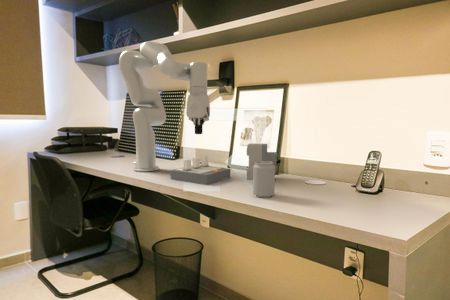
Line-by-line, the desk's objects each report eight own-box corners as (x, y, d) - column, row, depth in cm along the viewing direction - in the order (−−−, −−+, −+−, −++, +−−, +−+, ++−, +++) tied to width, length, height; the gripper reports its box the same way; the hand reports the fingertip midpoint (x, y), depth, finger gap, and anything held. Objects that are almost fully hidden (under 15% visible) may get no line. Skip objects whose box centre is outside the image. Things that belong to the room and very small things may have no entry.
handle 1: (182, 169, 140) (182, 159, 139) (187, 168, 142) (187, 158, 142) (187, 170, 138) (187, 160, 138) (192, 169, 141) (192, 159, 140)
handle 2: (200, 165, 150) (200, 156, 149) (204, 165, 152) (204, 155, 152) (205, 166, 148) (205, 156, 148) (209, 165, 151) (209, 156, 150)
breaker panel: (170, 179, 143) (170, 169, 143) (196, 173, 157) (195, 163, 156) (206, 184, 132) (206, 173, 131) (230, 177, 146) (230, 167, 145)
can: (257, 199, 110) (258, 164, 109) (249, 193, 117) (250, 160, 116) (278, 197, 112) (278, 162, 111) (269, 192, 119) (269, 159, 118)
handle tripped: (191, 167, 145) (191, 157, 144) (196, 166, 147) (195, 157, 147) (196, 168, 143) (196, 158, 143) (200, 167, 146) (200, 157, 145)
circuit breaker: (279, 180, 139) (280, 145, 137) (246, 179, 142) (246, 145, 140) (280, 177, 146) (281, 143, 144) (248, 176, 149) (248, 143, 147)
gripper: (179, 91, 142) (180, 133, 145) (206, 90, 134) (206, 135, 136) (191, 92, 149) (191, 132, 151) (217, 91, 140) (217, 134, 142)
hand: (198, 133), depth 144 cm, fingers closed
